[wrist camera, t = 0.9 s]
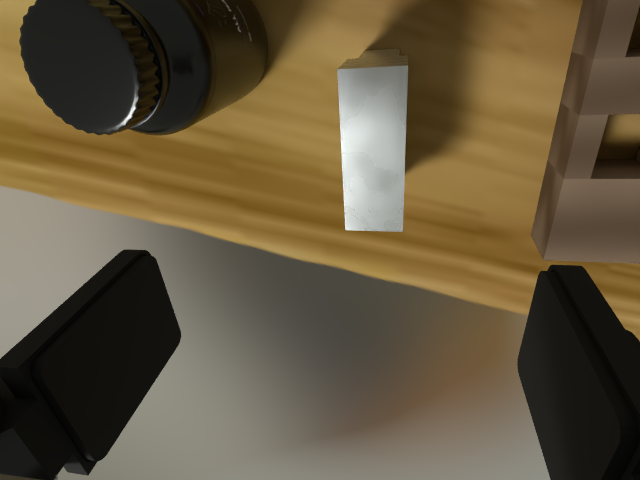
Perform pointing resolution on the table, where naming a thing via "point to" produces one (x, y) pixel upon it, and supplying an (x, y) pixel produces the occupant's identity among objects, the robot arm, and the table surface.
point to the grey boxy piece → (373, 139)
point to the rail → (593, 146)
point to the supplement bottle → (142, 60)
